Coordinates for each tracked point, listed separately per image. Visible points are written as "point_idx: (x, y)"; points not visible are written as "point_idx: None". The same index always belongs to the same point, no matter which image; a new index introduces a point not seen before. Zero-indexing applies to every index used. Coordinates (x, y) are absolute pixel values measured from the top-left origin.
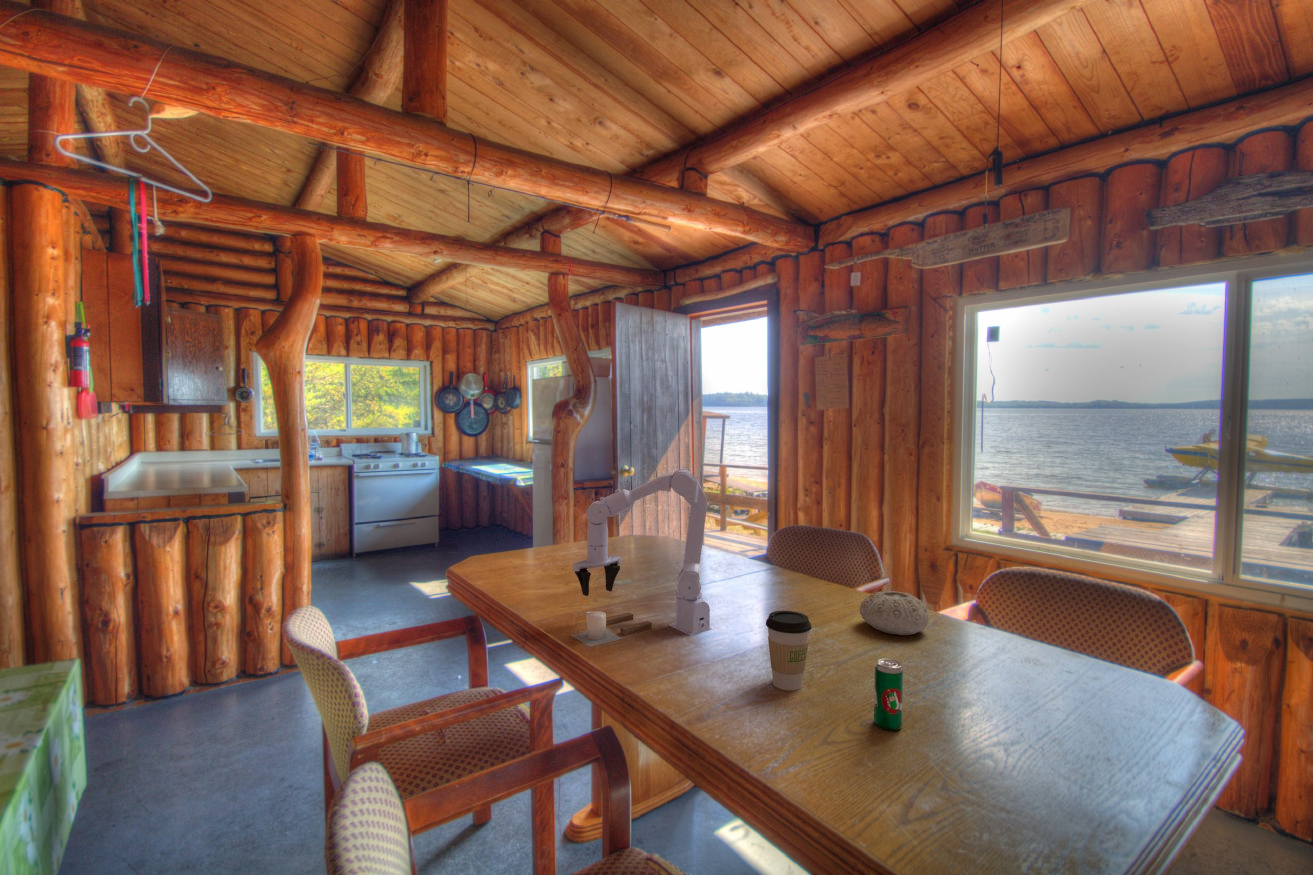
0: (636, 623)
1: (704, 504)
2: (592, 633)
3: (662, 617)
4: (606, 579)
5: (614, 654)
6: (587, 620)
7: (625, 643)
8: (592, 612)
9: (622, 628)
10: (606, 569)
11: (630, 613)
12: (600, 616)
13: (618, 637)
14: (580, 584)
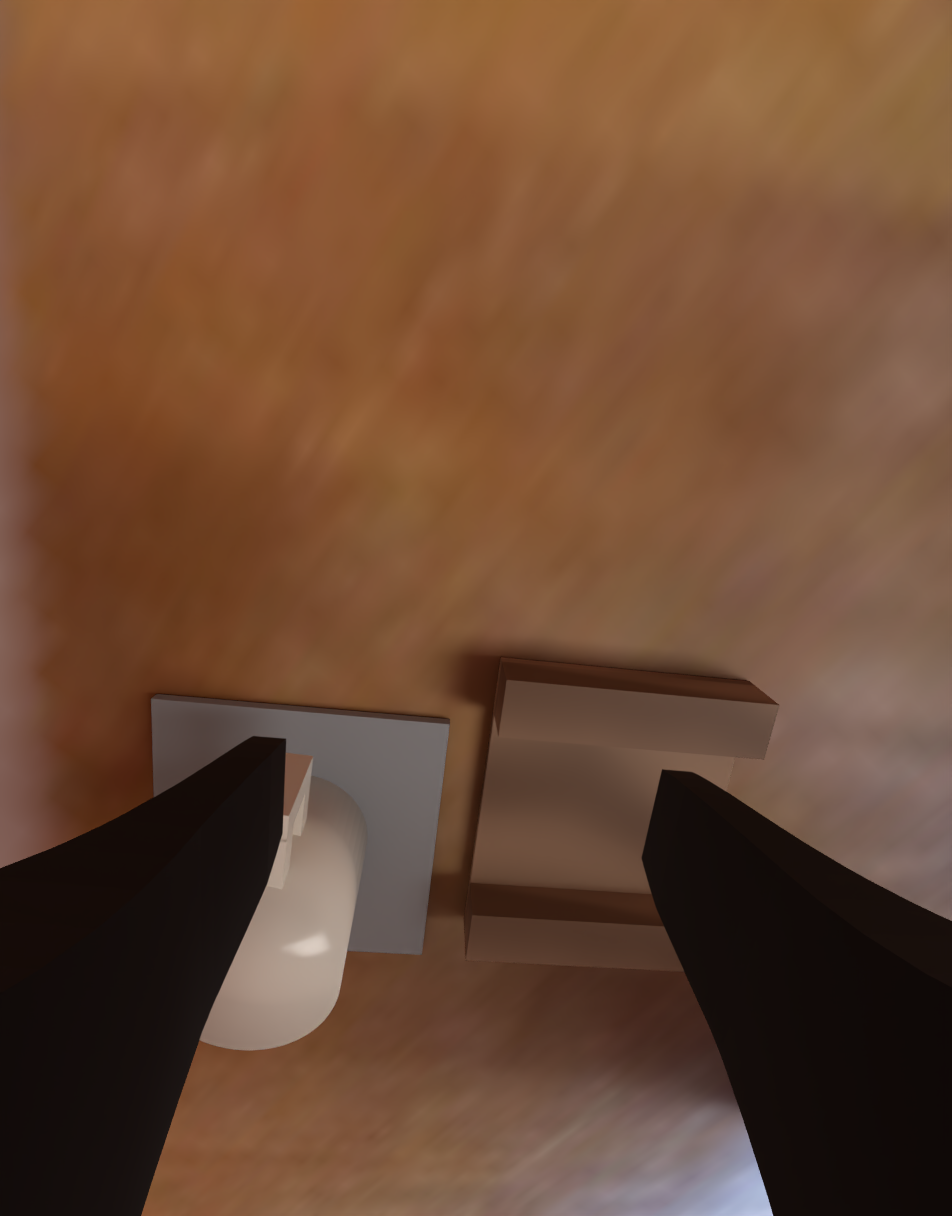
0: None
1: None
2: None
3: (936, 803)
4: (748, 868)
5: (241, 1066)
6: None
7: (398, 990)
8: None
9: (470, 937)
10: (899, 1066)
11: (763, 731)
12: (241, 1039)
13: (411, 927)
14: (147, 806)
